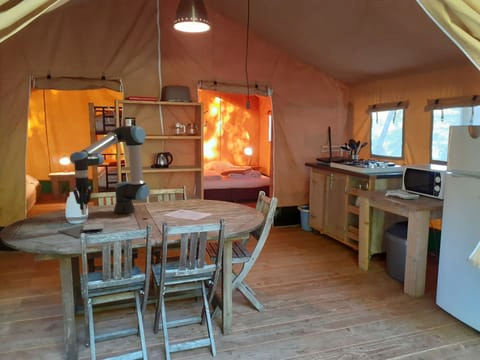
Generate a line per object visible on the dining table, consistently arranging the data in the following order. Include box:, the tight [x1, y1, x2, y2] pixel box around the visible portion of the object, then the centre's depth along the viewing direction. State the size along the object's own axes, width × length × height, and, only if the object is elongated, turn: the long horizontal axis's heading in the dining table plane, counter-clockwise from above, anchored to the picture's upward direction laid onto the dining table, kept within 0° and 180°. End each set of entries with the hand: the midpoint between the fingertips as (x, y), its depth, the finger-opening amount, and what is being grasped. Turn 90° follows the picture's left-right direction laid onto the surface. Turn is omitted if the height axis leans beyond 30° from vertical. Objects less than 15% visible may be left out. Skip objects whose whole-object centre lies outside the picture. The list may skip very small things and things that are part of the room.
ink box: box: [83, 223, 104, 232], centre depth 231 cm, size 12×2×12 cm
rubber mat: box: [57, 224, 103, 239], centre depth 230 cm, size 16×22×1 cm
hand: (83, 214), depth 231 cm, fingers closed
